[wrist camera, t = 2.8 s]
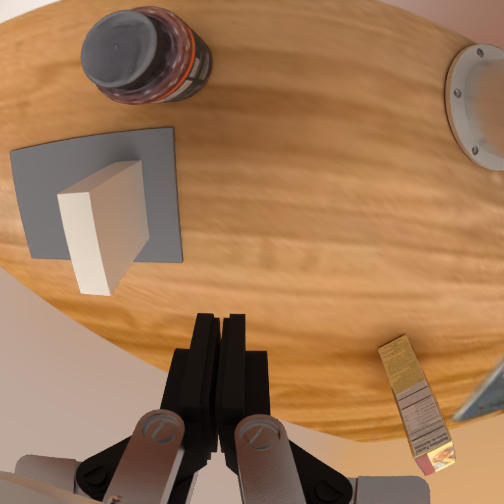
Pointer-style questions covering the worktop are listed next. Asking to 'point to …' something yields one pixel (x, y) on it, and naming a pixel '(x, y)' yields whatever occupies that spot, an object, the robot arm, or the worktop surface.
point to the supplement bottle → (145, 57)
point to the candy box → (417, 407)
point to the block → (105, 225)
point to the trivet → (85, 164)
